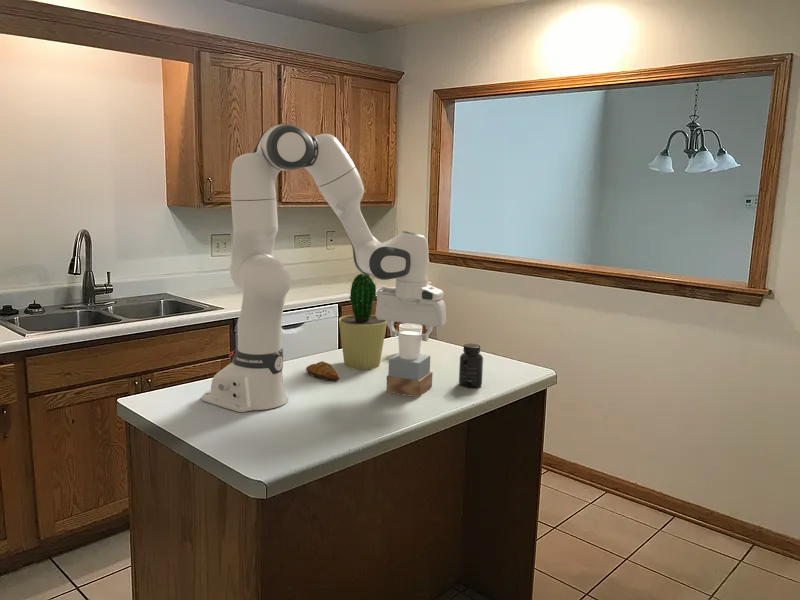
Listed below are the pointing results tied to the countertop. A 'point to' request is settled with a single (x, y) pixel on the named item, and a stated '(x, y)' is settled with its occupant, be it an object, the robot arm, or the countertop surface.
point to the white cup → (410, 327)
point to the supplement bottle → (471, 366)
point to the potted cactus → (362, 327)
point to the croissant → (323, 371)
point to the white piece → (409, 344)
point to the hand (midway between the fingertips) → (409, 338)
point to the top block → (409, 367)
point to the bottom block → (409, 385)
